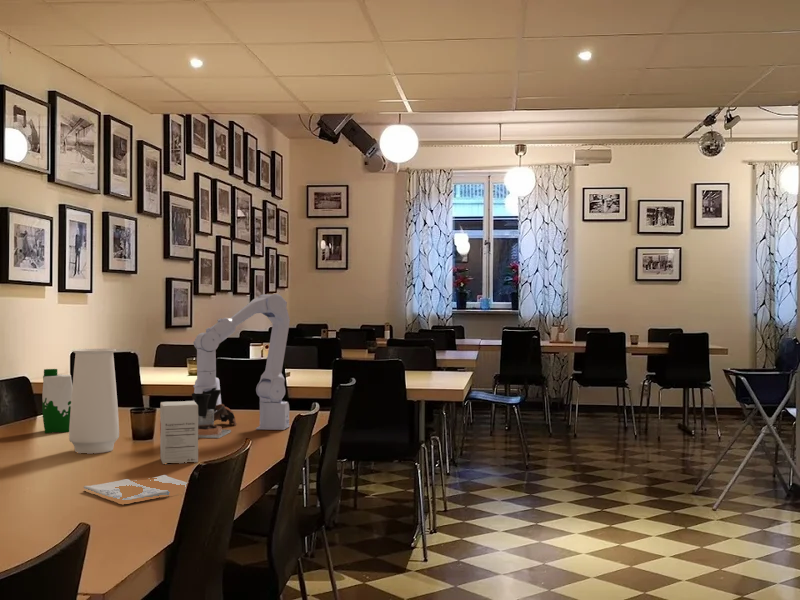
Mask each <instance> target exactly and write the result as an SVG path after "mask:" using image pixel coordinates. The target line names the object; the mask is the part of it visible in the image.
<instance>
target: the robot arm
mask: <svg viewBox="0 0 800 600" xmlns="http://www.w3.org/2000/svg"><path fill="white" fill-rule="evenodd" d="M287 305H288V302H287V301H286V299H285V298H284V296H282V295H281V294H279V293H273V294H265V293H263V294H260V295H259V296H258V297H255V298H253V299H252V300H251V301H249V303H247V304H246V305H245V306H243V307H242V308H241V309H240V310H238V311H237V312H236V313H235V314H233V315H232V316H231V317H223V318H218V319H217V322H216V323H214V325H212V326H210V327H206V329H205V332H200V333H198V334H197V335H196V336H195V339H194V341H193V346H194V348H195V349H196V374H197V375H196V380H197V385H195V384H194V385H192V386H193V388H194V389H195V393H194V392H192V393H191V397H192V400H193V401H195V402H196V404H197V405H198V415H199V416H206V414H207V409H214V412H215V408H216V403H217V399H218V397H219V395H220V394H221V393H222V391H221V389H220V390H216V389H217V383H216V378H217V359H216V354H217V352H216V350H217V349H218V347H219V346H220V344H221V343H222V342H224V341H225V340H227V338H229V337H230V336H232V335H233V334H234V333H236V331H237V327H238V326H239V325H241V324H242V323H244V322H246V321H247V320H248V319H250V318H252V317H253V316H254V315H257V314H262V315H264V316H266V318H267V319H268V320H269V321H270V322H271V324H272V326H271V327H272V328H271V333H270V339H269V345H268V352H267V357H266V363H265V364H266V365H265V370H264V371H263V373H262V374H261V375H260V379H259V382H258V383H257V385H256V388H255V392H256V395H257V396H258V397H259V426H257V427H256V428H255V430H264V431H265V430H266V431H267V430H270V431H271V430H274V431H276V430H277V431H279V430H280V431H281V430H283V431H284V430H286V429H288V428H289V427H291V425H290V404H289V401H284V400H283V398H284V397H285V395H286V386H285V381H286V379H285V377H284V374H283V373H282V372H283V366H284V359H285V354H286V348H287V341H288V337H289V336H288V334H289V329H290V322H291V319H290V315H289V312H288V309H287Z"/></svg>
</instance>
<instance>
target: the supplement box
mask: <svg viewBox="0 0 800 600" xmlns="http://www.w3.org/2000/svg"><path fill="white" fill-rule="evenodd" d="M159 407H160V408H159V409H160V410H159V412H160V413H159V414H160V415H159V417H160V419H159V422H160V424H159V425H160V426H159V427H160V428H159V429H160V430H159V431H160V434H159V435H160V437H159V439H160V441H159V443H160V452H159V453H160V456H159V457H160V460H161V463H162V465H163V464H165V463H179V464H188V463H187V462H194V463H198V462H199V438H198V405H197V404H196V402H194V400H185V401H183V400H182V401H181V400H180V401H160V406H159ZM184 462H185V463H184ZM165 465H166V464H165Z"/></svg>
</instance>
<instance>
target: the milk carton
mask: <svg viewBox="0 0 800 600" xmlns="http://www.w3.org/2000/svg"><path fill="white" fill-rule="evenodd" d="M42 380H43V381H42V383H43V384H42V393H41V394H42V399H41V400H42V402H41V403H42V422H43V428H44V434H53V433H52V432H59V433H69V426H70V411H71V398H72V386H73V379H72V375H71V374H62V373H60V374H58V369H57V368H46V369H45V368H44V369H43V375H42Z"/></svg>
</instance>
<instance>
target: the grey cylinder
mask: <svg viewBox="0 0 800 600" xmlns="http://www.w3.org/2000/svg"><path fill="white" fill-rule="evenodd" d="M214 425H215V421H214V409H207V414H206V416H199V415H198V429H212V428H214Z"/></svg>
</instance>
